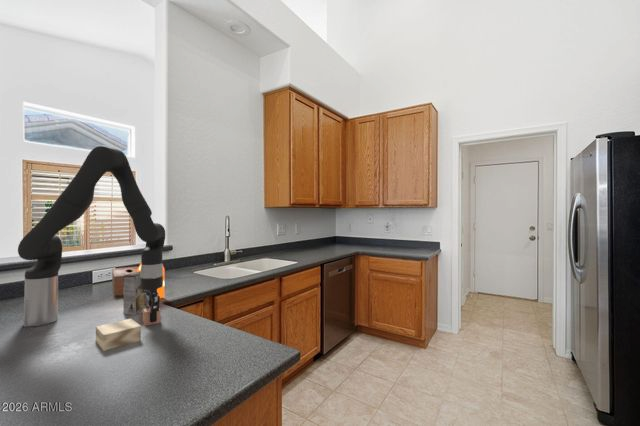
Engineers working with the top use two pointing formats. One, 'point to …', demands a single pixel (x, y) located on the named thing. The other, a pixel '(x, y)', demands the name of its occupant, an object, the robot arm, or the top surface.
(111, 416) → the top surface
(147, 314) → the terracotta cube
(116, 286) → the tissue box cover
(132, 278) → the coffee box
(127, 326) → the birch block
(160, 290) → the orange juice
